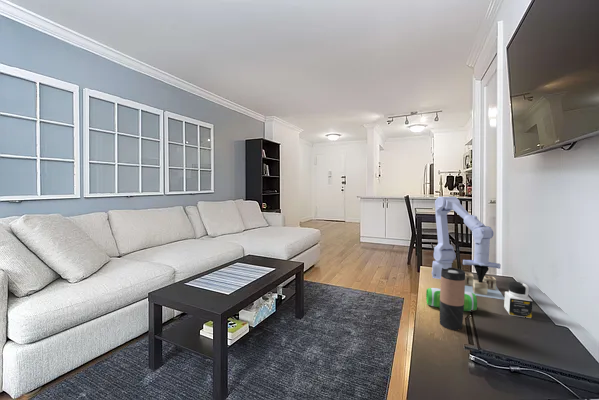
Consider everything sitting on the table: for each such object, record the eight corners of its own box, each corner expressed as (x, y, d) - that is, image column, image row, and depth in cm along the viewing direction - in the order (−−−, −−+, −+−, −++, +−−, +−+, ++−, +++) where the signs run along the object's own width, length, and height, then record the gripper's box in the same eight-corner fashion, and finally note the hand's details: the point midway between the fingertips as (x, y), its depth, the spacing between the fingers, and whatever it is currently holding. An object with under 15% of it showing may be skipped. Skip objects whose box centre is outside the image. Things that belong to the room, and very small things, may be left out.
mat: (463, 294, 129) (463, 293, 129) (458, 281, 148) (458, 280, 148) (505, 301, 123) (506, 299, 123) (495, 286, 141) (495, 284, 141)
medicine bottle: (509, 315, 110) (510, 285, 109) (503, 307, 116) (505, 279, 115) (531, 318, 107) (533, 287, 106) (524, 311, 114) (526, 281, 113)
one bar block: (461, 285, 140) (462, 274, 140) (460, 281, 145) (460, 271, 145) (473, 286, 138) (473, 276, 138) (471, 283, 143) (472, 273, 143)
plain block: (474, 293, 130) (474, 282, 129) (472, 289, 134) (473, 279, 134) (487, 295, 128) (487, 284, 127) (484, 291, 132) (485, 280, 132)
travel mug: (462, 332, 96) (465, 275, 95) (437, 326, 100) (440, 271, 99) (463, 323, 103) (465, 269, 101) (440, 318, 107) (442, 266, 105)
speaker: (427, 308, 115) (428, 290, 114) (425, 301, 122) (426, 284, 121) (477, 315, 110) (478, 296, 109) (471, 307, 117) (472, 289, 116)
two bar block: (483, 288, 136) (483, 278, 136) (481, 285, 141) (481, 275, 140) (495, 290, 134) (496, 279, 134) (493, 286, 139) (493, 276, 138)
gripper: (464, 252, 129) (463, 281, 130) (502, 256, 123) (501, 286, 124) (462, 249, 136) (461, 277, 136) (498, 252, 130) (497, 281, 131)
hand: (480, 281), depth 131 cm, fingers closed
